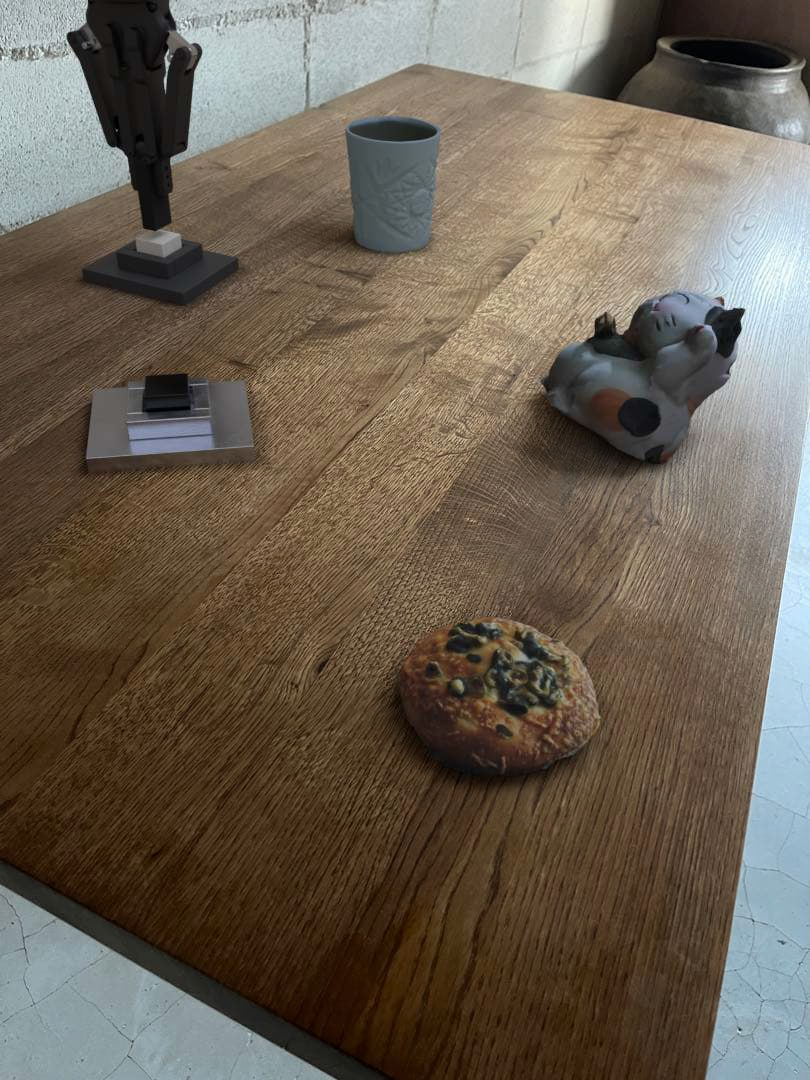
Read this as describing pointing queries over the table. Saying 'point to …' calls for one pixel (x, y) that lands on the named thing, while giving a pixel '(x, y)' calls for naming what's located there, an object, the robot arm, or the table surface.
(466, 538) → the table surface
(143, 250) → the back key
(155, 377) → the front key
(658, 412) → the lucky cat figurine
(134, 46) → the robot arm
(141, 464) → the grey holder base
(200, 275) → the back keypad
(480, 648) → the bread roll
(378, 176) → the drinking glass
